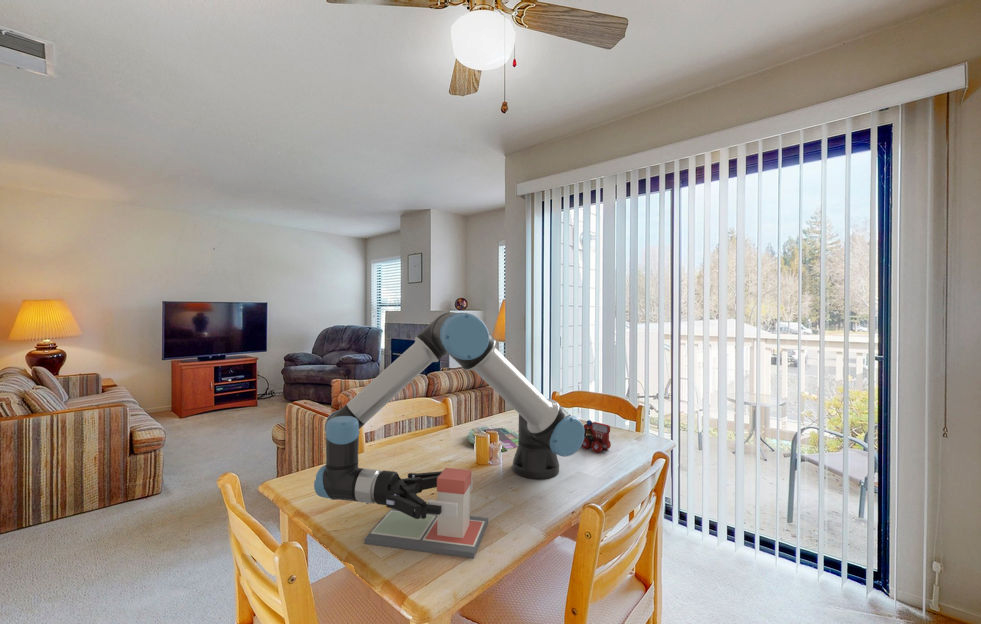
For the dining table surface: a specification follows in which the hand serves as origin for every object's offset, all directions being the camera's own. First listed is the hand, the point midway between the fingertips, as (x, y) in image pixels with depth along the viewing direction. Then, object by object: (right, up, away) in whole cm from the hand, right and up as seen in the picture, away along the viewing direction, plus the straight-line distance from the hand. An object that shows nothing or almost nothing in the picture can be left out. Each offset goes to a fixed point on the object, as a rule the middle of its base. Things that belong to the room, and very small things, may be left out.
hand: (465, 496), depth 98 cm
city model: (+8, -9, +68) cm, 69 cm away
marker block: (-3, -8, +1) cm, 9 cm away
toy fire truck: (+45, -10, +63) cm, 78 cm away
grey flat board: (-9, -9, +2) cm, 13 cm away
